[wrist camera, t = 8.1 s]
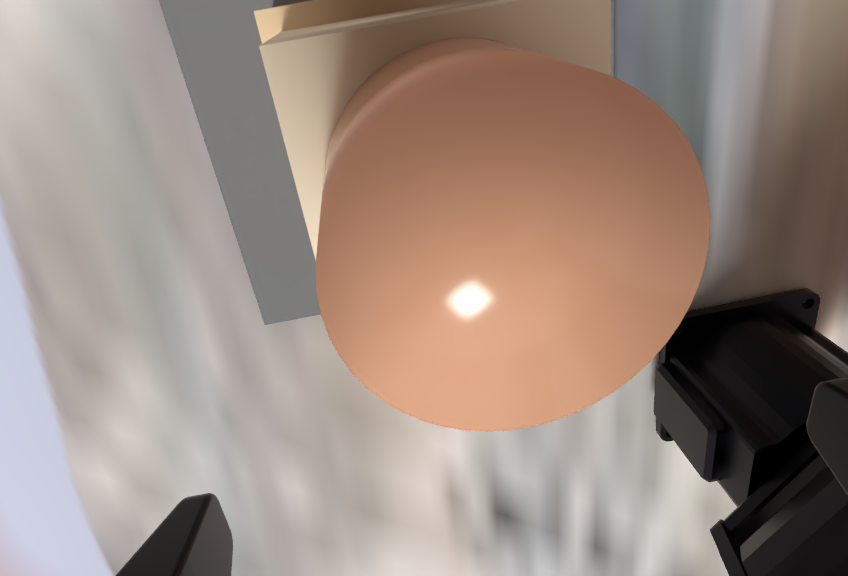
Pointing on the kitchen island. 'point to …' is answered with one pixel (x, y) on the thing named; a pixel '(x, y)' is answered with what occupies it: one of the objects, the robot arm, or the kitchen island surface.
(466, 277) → the peach rounded cylinder
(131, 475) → the kitchen island surface
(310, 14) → the base block
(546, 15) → the top block
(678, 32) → the kitchen island surface
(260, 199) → the mat
